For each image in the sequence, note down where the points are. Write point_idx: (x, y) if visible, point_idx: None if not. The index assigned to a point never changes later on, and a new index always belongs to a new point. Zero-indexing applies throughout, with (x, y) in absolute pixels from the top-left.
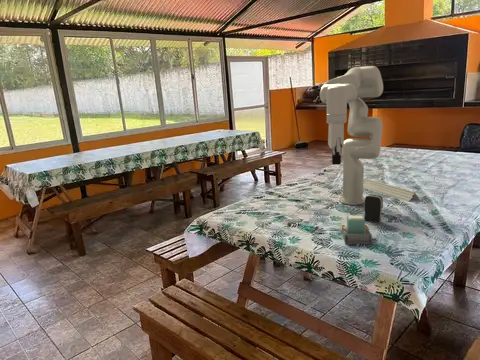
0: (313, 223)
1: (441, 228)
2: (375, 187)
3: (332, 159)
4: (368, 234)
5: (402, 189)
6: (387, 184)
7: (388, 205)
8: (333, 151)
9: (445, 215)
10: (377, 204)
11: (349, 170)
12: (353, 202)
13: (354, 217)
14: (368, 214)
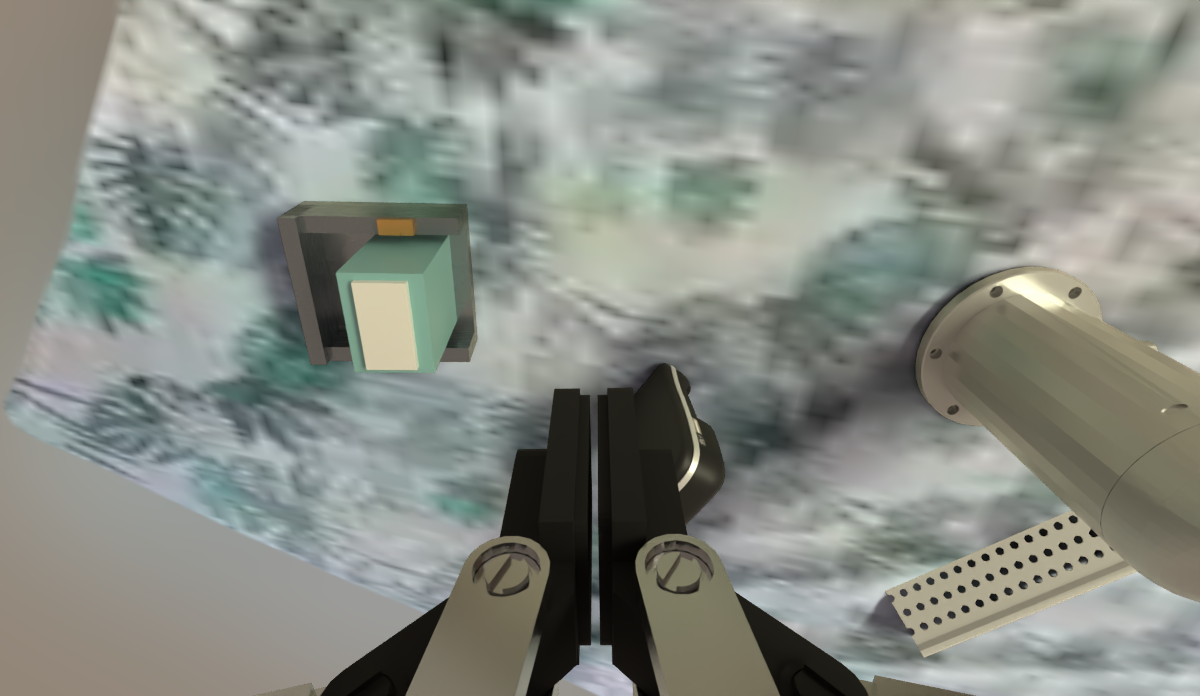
0: (626, 11)
1: None
2: None
3: (564, 442)
4: (310, 349)
5: (992, 620)
6: (1109, 580)
7: (862, 507)
8: (471, 633)
9: None
10: None
11: (1168, 473)
12: (940, 349)
13: (374, 318)
14: (651, 399)
